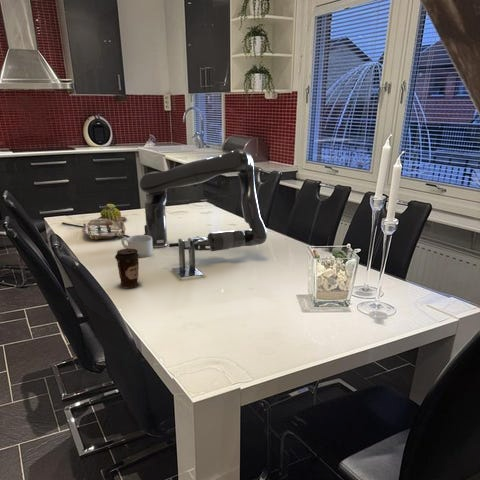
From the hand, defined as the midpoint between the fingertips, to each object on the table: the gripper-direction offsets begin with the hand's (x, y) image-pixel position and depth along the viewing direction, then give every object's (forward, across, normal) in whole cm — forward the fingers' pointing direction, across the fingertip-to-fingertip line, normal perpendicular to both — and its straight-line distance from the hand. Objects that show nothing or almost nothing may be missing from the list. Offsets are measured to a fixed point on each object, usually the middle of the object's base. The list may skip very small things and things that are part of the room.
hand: (181, 245), depth 186 cm
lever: (+1, +5, -1) cm, 5 cm away
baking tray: (+19, -67, +9) cm, 70 cm away
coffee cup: (+24, +13, +9) cm, 29 cm away
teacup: (+12, -24, +9) cm, 29 cm away
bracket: (+1, +9, +9) cm, 13 cm away
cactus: (+9, -98, +9) cm, 99 cm away
